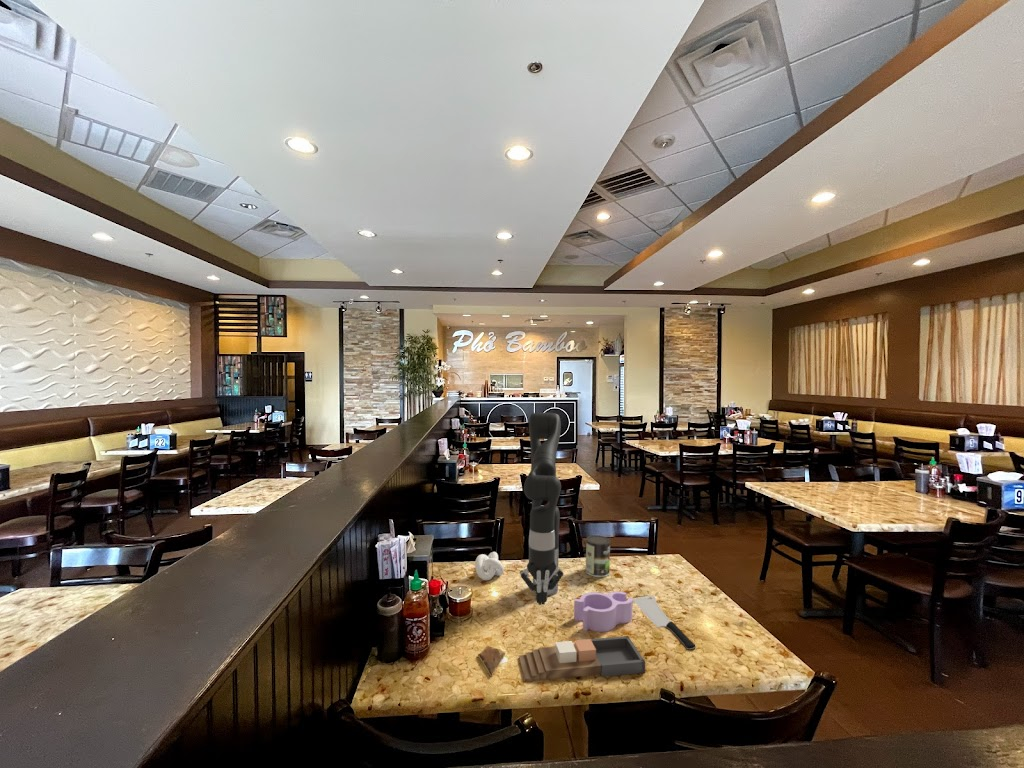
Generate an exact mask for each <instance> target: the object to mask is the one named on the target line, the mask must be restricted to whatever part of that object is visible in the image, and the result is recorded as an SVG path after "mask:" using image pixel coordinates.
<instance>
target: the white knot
mask: <svg viewBox="0 0 1024 768" xmlns="http://www.w3.org/2000/svg"><path fill="white" fill-rule="evenodd" d="M474 562H475V563H474V566H475V567H474V568H475V573H476V575H477V576H478V577H479V579H480V580H483V581H490V580H492V578H493V577H494V576H498V577H500V576H502V575H503V574H504V570H505V568H504V565H503V563H502V562H501V561H500V560H499V554H498V553H497V552H496V551H492V552H491V551H490V553H489V554H488V555H487V554H485V553H484V554H483V553H482V554H479V555H478V556H477V557H476V559H475V561H474Z"/></svg>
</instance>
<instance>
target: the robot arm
mask: <svg viewBox="0 0 1024 768" xmlns="http://www.w3.org/2000/svg"><path fill="white" fill-rule="evenodd" d="M561 424H562V423H561V417H560V415H559V414H558V413H555V412H532V413H531V414H530V415H529V419H528V429H529V430H528V431H529V440H530V441H529V443H530V452H531V453H530V457H531V459H530V460H531V462H530V463H531V465H530V471H529V474H528V475H527V477H526V478H525V481H524V485H523V492H524V493H523V494H525V497H527V499H529V500H531V510H530V513H529V532H528V533H529V535H528V563H527V564H526V568H525V569H524V570H520V571H519V575H520V578H521V579H522V580H523V582H524V583H525V584H526V586H527V587H528V588H529V589H530V590H531V591H532V592H533V591H534V592H535V602H536V603H537V604H538V605H539V606H542V605H546V603H547V602H548V601H547V600H548V596H552V595H555V594H557V593H558V592H559V581H561V579H562V577H563V576H564V572H563V570H562V568H560V567H559V551H560V550H559V546H560V545H559V544H560V543H559V537H560V536H559V534H560V533H559V530H560V519H561V517H560V516H561V515H560V510H559V507H558V506H557V504H558V502H559V498H560V494H561V492H562V491H561V490H562V483H561V481H560V479H559V478H558V476H557V466H556V456H557V451H558V448H559V447H558V446H559V443H560V437H561V430H562V428H561V427H562V426H561ZM541 440H545V441H544V442H541ZM545 501H547V503H546V504H544V505H542V504H543V502H545ZM530 575H531V576H532V579H530V578H529V577H530Z"/></svg>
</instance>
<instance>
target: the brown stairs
mask: <svg viewBox="0 0 1024 768" xmlns="http://www.w3.org/2000/svg"><path fill="white" fill-rule="evenodd" d="M518 658H519V664H520V666H521V671H522V675H523V679H524V682H533V681H535V682H536V681H545V680H547V679H546V670H545V667H544V664H543V661H542V658H541V655H540V652H539V648H537V649H532V651H530V652H529V651H528V652H525V654H521V655H518Z"/></svg>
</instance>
